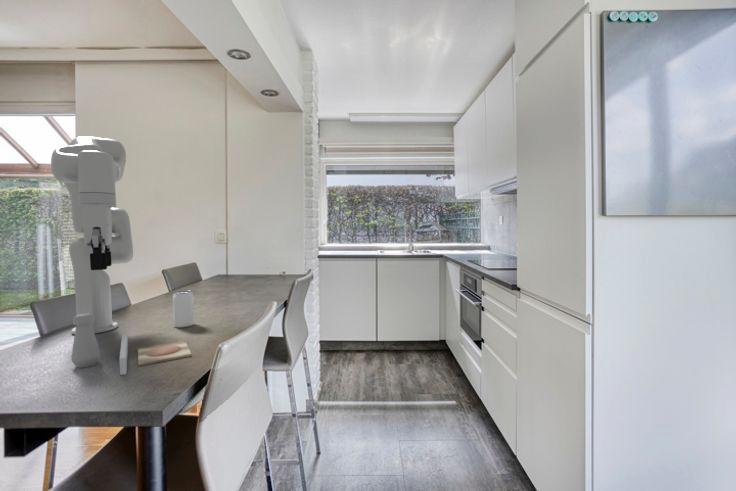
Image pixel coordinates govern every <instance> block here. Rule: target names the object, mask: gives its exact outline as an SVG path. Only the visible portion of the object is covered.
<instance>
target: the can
mask: <svg viewBox="0 0 736 491" xmlns="http://www.w3.org/2000/svg"><path fill="white" fill-rule="evenodd" d="M194 300H195V299H194V294H193V290H190V289H189V290H186V289H185V290H178V291H177V290H176V291H174V292H173V296H172V308H173V309H172V310H173V311H172V312H173V313H172V314H173V326H174V327H175V328H178V329H179V328H180V329H181V328H188V327H192V326H194V324H195V322H196V321H195V303H194Z"/></svg>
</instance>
